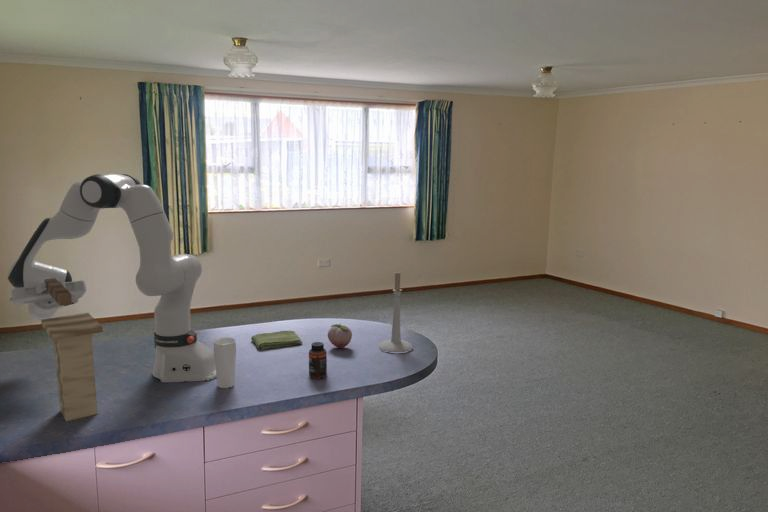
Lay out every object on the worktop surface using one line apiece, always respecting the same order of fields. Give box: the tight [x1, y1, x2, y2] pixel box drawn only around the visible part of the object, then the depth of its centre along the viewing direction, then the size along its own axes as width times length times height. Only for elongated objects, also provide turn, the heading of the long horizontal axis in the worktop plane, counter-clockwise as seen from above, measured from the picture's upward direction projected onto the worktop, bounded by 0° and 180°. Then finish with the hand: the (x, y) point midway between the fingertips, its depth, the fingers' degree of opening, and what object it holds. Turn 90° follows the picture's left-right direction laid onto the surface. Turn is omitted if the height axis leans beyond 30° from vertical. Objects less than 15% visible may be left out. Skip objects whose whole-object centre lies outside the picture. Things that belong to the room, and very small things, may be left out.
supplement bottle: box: [308, 341, 328, 380], centre depth 195 cm, size 6×6×11 cm
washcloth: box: [250, 330, 303, 350], centre depth 227 cm, size 13×18×3 cm
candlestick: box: [378, 271, 413, 352], centre depth 221 cm, size 13×13×30 cm
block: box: [44, 278, 73, 306], centre depth 172 cm, size 22×3×3 cm, turn 39°
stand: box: [40, 312, 104, 423], centre depth 164 cm, size 16×12×26 cm
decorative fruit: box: [327, 323, 353, 349], centre depth 221 cm, size 9×8×10 cm
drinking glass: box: [213, 337, 237, 389], centre depth 185 cm, size 7×7×15 cm
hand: (52, 284), depth 178 cm, fingers closed on block, 3 cm apart
